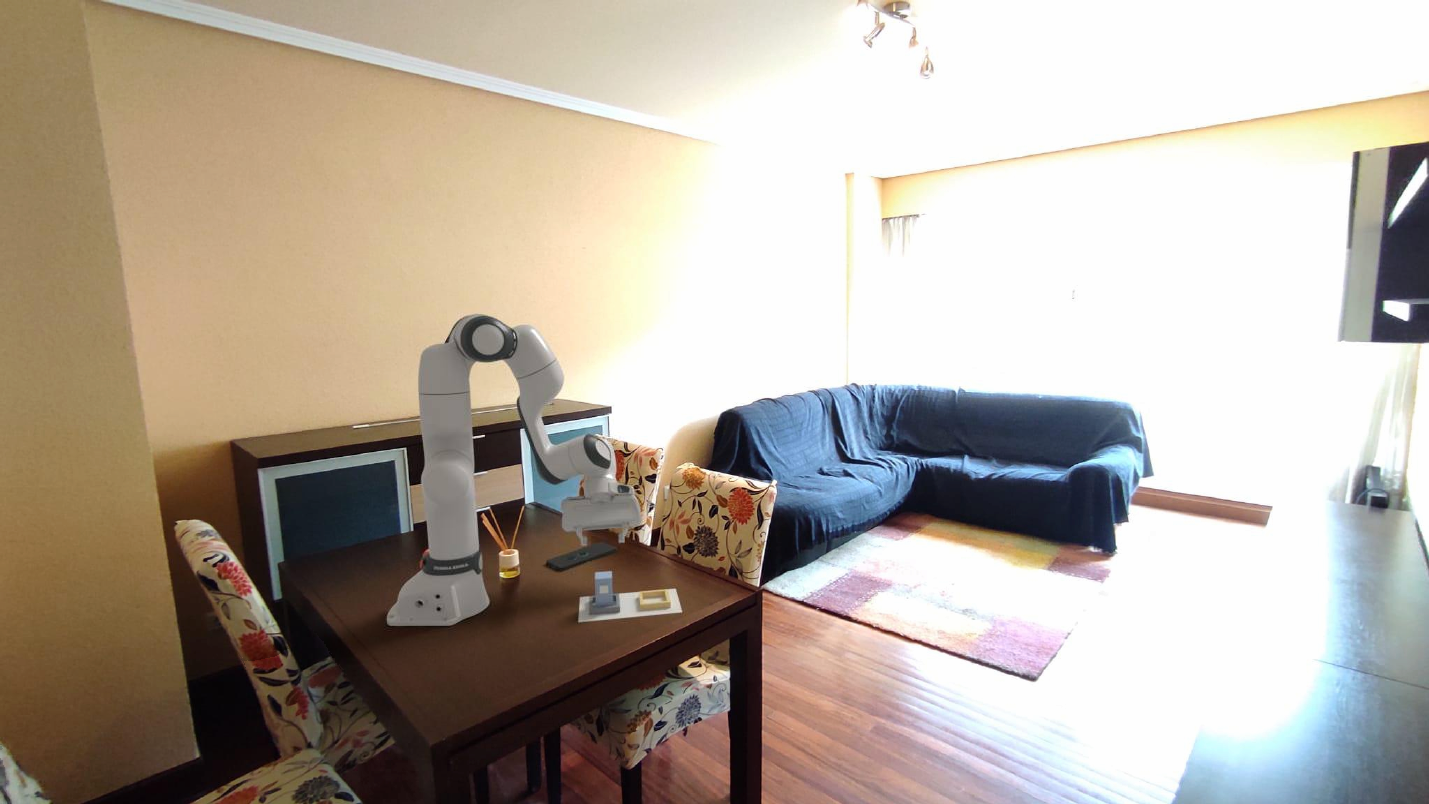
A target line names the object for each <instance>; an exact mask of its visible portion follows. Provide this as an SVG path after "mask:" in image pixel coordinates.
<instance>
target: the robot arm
mask: <svg viewBox="0 0 1429 804" xmlns="http://www.w3.org/2000/svg"><path fill="white" fill-rule="evenodd" d="M446 337H447V338H446V340H445V341H444V343H436V344H432V345H430V346H427V347H425V349H424V350H423V351H422V352H421V354H420V359H419V364H418V365H419V366H418V375H417V376H418V378H417V379H418V380H417V387H418V390H417V391H418V405H419V407H418V408H419V409H418V410H419V422H420V423H419V424H420V431H421V437H422V443H423V444H422V446H423V452H424V455H423V457H424V467H423V471H422V473H421V476H420V477H421V478H420V483H421V484H420V485H421V493H422V499H423V501H422V502H423V509H424V513H425V518H426V519H425V520H426V527H427V540H428V543H427V544H428V548H427V549H426V550H425V551H424V552H423V554H422V557H421V558H420V561H419V568H420V571H418V572H416V574H415V575H413V576H412V577H411V578H410V579H409V580H407V581H406V582H405V583H404V585H403V586H402V587H401V589H400V590H399V593H398V596H397V601H396V602H395V604H394V605H392V607H391V608H390V609H389V610H388V613H387V616H386V623H387V625H388V626H390V627H391V626H392V627H393V626H394V627H406V626H407V627H409V626H410V627H413V626H414V627H417V626H418V627H424V626H425V627H427V626H429V627H430V626H431V627H434V626H435V627H436V626H437V627H438V626H439V627H440V626H441V627H442V626H445V627H446V626H449V627H450V626H453V625H456V624H457V623H459V622H461V621H463V620H465V619H467V618H470V617H473V616H476V615H477V614H480V613H481V612H483V611H484V610H485V609H486V608H488V606H489V605H490V598H489V596H488V593H487V590H486V588H485V583H484V577H483V555H482V549H481V546H480V544H479V543H480V542H479V527H478V514H477V504H476V490H475V454H474V452H475V451H474V440H473V439H474V437H473V436H474V435H473V424H472V423H473V422H472V420H473V419H472V418H473V417H472V404H471V403H472V401H471V400H472V399H471V384H470V383H471V382H470V377H471V376H470V375H471V370H472V368H473V366H474V365H475V364H476V362H478V363H483V364H484V363H494V362H498V361H503V362H504V363H505V364H507V366H508V367H509V369H510V371H511V373H512V375H513V376H514V378H515V380H516V382H517V385H518V388H519V389H518V390H519V396H518V397H517V398H516V408H517V412H518V416H519V419H520V422H521V425H522V427H523V428H522V429H523V430H524V433H525V435H526V437H527V441H528V444H529V446H530V449H531V452H532V454H533V458H534V459H533V460H534V464H535V466H536V471H537V474H538V475H539V478H540V479H542V480H543V481H545V482H546V483H548V484H550V485H554V486H557V485H560V484H562V483H564V482H566V481H568V480H571V479H573V478H576V477H579V476H582V475H584V477H585V480H584V484H583V491H584V492H583V494H584V495H577V496H567V497H566V498H564V499H563V500H562V501H561V503H560V511H561V512H562V517H561V527H562V530H564V532H576V536H577V537H578V539H579V540H580V546H582V547H583V546H585V547H587V546H588V538H587V536H583V531H593V530H594V531H595V530H606V529H607V530H608V529H609V530H610V529H619V528H620V529H622V532H621V533H619V534H618V544H620V543H622V544H623V543H625V541H626V540H625V537H626V535H627V533H628V532H629V528H633V527H639V526H640V525H641V523H642V513H641V506H640V502H639V500H638V498H637V497H636V496H635V488H634V487H633V486H631V485H626V484H624V483H623V484H622V483H618V481H617V478H616V475H617V461H616V454H615V450H614V446H613V443H612V442H610V441H609V440H608V439H606V438H603V437H598V436H596V435H593V434H591V433H587V434H583V435H580V436H577V437H574V438H572V439H570V440H567V441H564V442H561V443H558V444H553V443H552V442H551V441H550V439H549V436H548V432H547V430H546V427H545V425H544V421H543V419H542V418H543V417H542V413H543V410H544V409H545V408H546V407H547V406H548V405H549V404H551V402H553V400H554V399H555V398H556V397H557V396H558V395H559V394H560V392H561V390H562V389H563V387H564V383H565V374H564V371H563V369H562V367H561V365H560V363H559V360H558V359H557V358H556V355H555V353H554V352H553V350H552V349H551V346H550V345H549V343H548V342H547V341H546V339H545V338H544V337H543V335H542V334H541V332H540V331H539V330H538V329H537V328H536V327H534V326H533V325H529V324H520V325H516V326H514V327H510V326H509V325H507V324H505V323H504V322H502V321H501V320H499V319H498V318H496V317H493V316H490V315H488V314H482V313H475V314H469V315H465V316H463V317H462V318H459V319H458V320H457V321H456V323H454V324H453V326H452V328H451V330H450V332H449V334H448V336H446Z"/></svg>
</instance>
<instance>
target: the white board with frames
mask: <svg viewBox="0 0 1429 804" xmlns="http://www.w3.org/2000/svg"><path fill="white" fill-rule="evenodd" d="M678 595H679V594H678V593H677V589H676V588H665V589H654V590H643V591H637V592H636V591H634V592H625V593H624V592H623V593H621V592H620V593H613V606H605V607H596V595H589V596H580V597H579V604H578V605H579V606H578V607H579V608H578V609H579V610H578V619H577V620H578V621H577V623H585V622H597V621H605V620H606V621H607V620H617V619H627V618H639V617H648V616H649V617H650V616H657V615H658V616H659V615H671V614H678V613H679V614H680V613H683V610H682V606H681V603H680V598H679V596H678Z"/></svg>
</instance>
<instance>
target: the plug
mask: <svg viewBox="0 0 1429 804" xmlns="http://www.w3.org/2000/svg"><path fill="white" fill-rule="evenodd" d="M594 590H595V591H594V592H595V595H594V596H596V607H605V606H613V594H614V593H613V592H614V591H613V571H612V570H611V571H610V570H609V571H608V570H607V571H596V572H594Z"/></svg>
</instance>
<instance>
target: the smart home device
mask: <svg viewBox="0 0 1429 804" xmlns="http://www.w3.org/2000/svg"><path fill="white" fill-rule="evenodd" d="M617 552H618V547H616V546H615V545H611V544H609V543H606V542H604V541H600V542H596V543H594V544H591V545H586V546H585V547H582V548H579V549H576V550H573V551H570V552H567V553H564V554H561V555H558V556H555V557H552V558H549V559H547V560H545V564H546V566H548V567H550V568H552V569H554V570H557V571H559V572H565V571H568V570H571V569H574V568H576V567H575V566H577V567H579V566H582V565H584V563H585V564H587V563H586V562H588V561H590V562H592V560H593V561H595V559H596V560H599V559H602V558H604V557H607V556H609V555H613V554H615V553H617ZM601 557H602V558H601ZM588 563H589V562H588ZM581 564H582V565H581ZM578 565H579V566H578ZM573 567H574V568H573ZM570 568H571V569H570Z"/></svg>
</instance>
